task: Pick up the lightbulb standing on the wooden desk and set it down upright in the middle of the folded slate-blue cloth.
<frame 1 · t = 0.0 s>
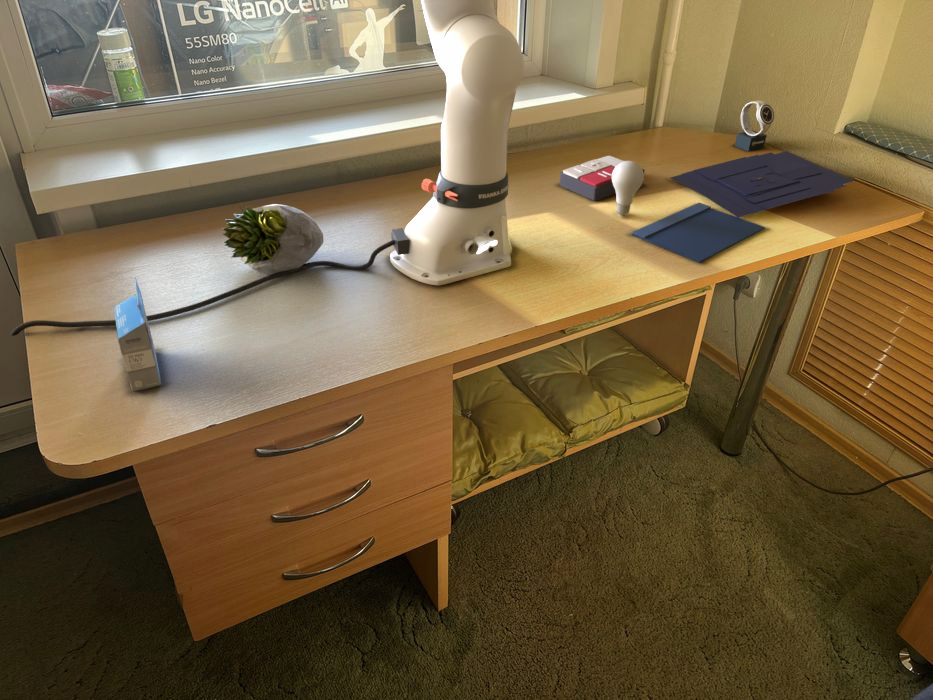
potted plant: (275, 270, 122), on the table
button panel: (600, 186, 155), on the table
watch: (749, 147, 177), on the table
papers: (759, 191, 153), on the table, touching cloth
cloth: (698, 232, 136), on the table
lightbulb: (622, 216, 142), on the table
label tape box: (145, 372, 97), on the table
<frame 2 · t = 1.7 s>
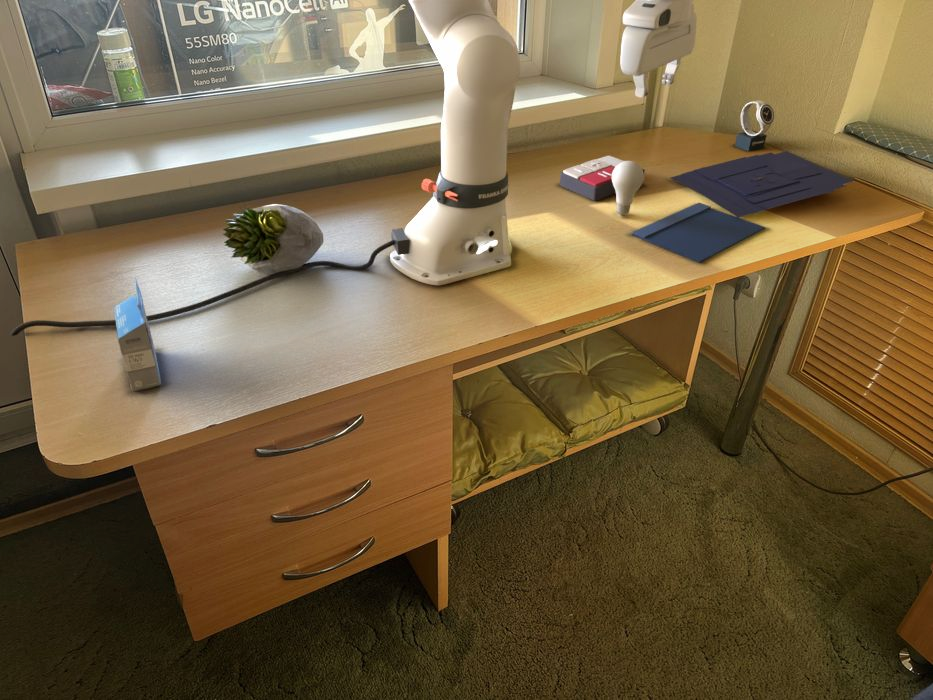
hand: (654, 90, 129), 24 cm above the table, tool pointing down, fingers open, 8 cm apart
nothing on the table moved.
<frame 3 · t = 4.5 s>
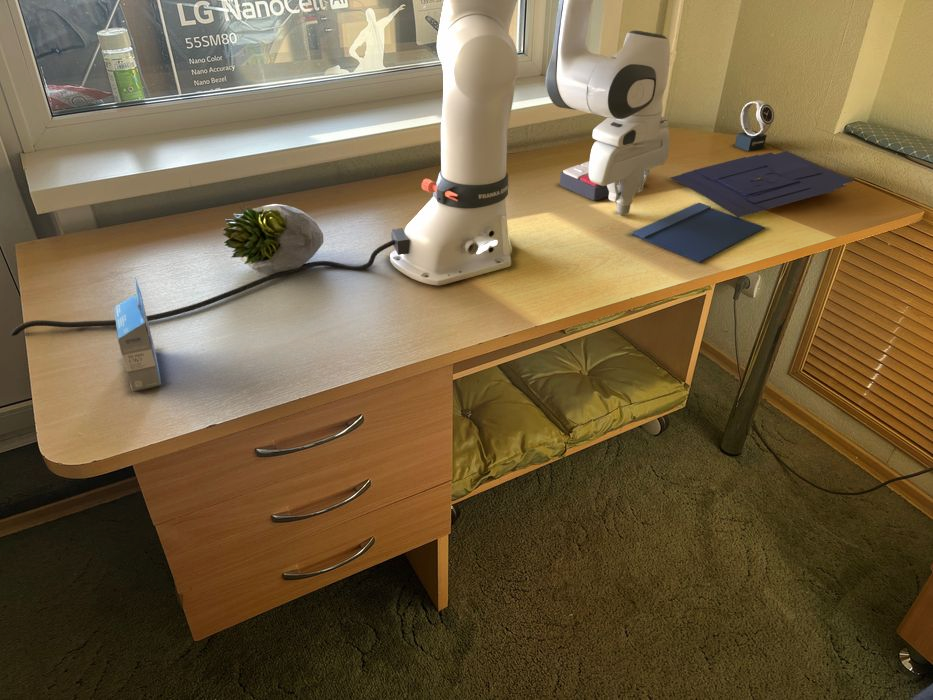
hand: (625, 195, 139), 4 cm above the table, tool pointing down, fingers closed on lightbulb, 6 cm apart
lightbulb: (622, 216, 142), on the table, touching gripper
everything else where it was.
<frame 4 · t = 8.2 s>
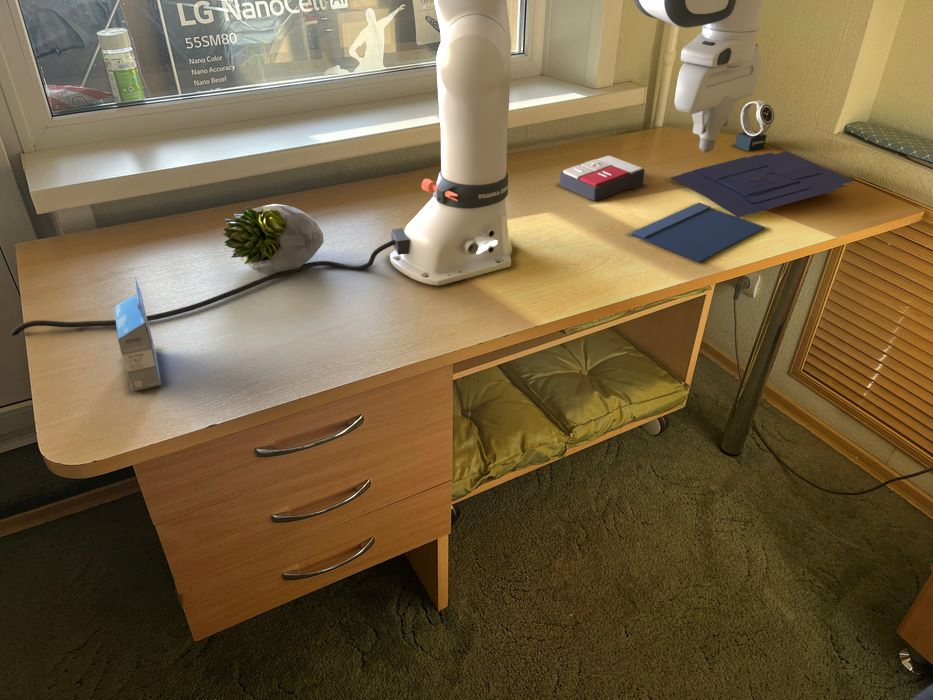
hand: (710, 129, 125), 19 cm above the table, tool pointing down, fingers closed on lightbulb, 6 cm apart
lightbulb: (705, 153, 128), point 15 cm above the table, touching gripper
everything else where it was.
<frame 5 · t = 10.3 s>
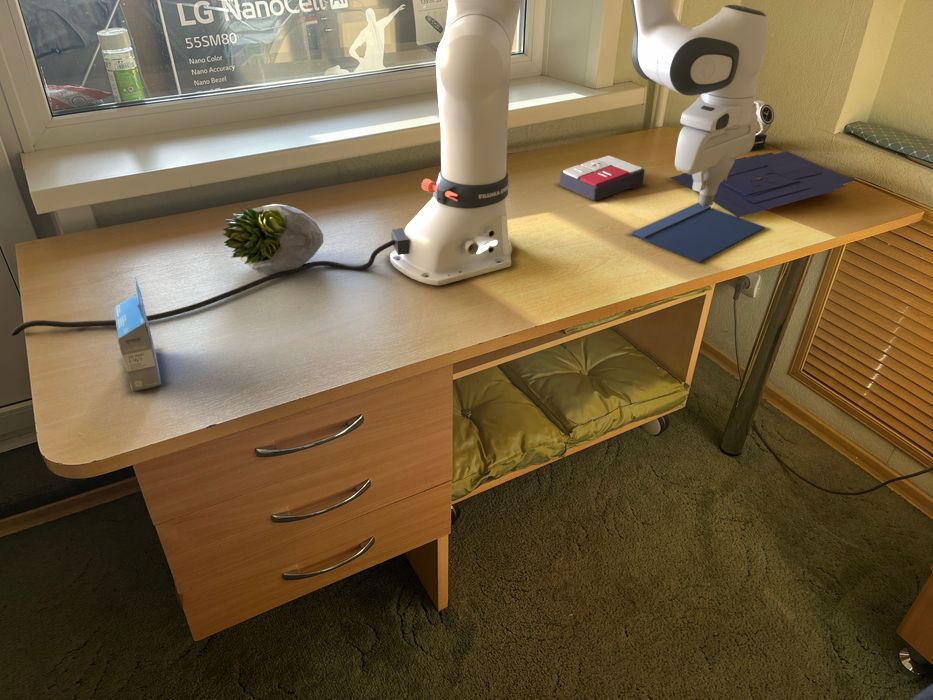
hand: (709, 185, 130), 9 cm above the table, tool pointing down, fingers closed on lightbulb, 6 cm apart
lightbulb: (704, 207, 133), point 5 cm above the table, touching gripper
everything else where it was.
when the fingers open (4 cm above the table, at t = 12.0 s): lightbulb stays where it is, resting on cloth.
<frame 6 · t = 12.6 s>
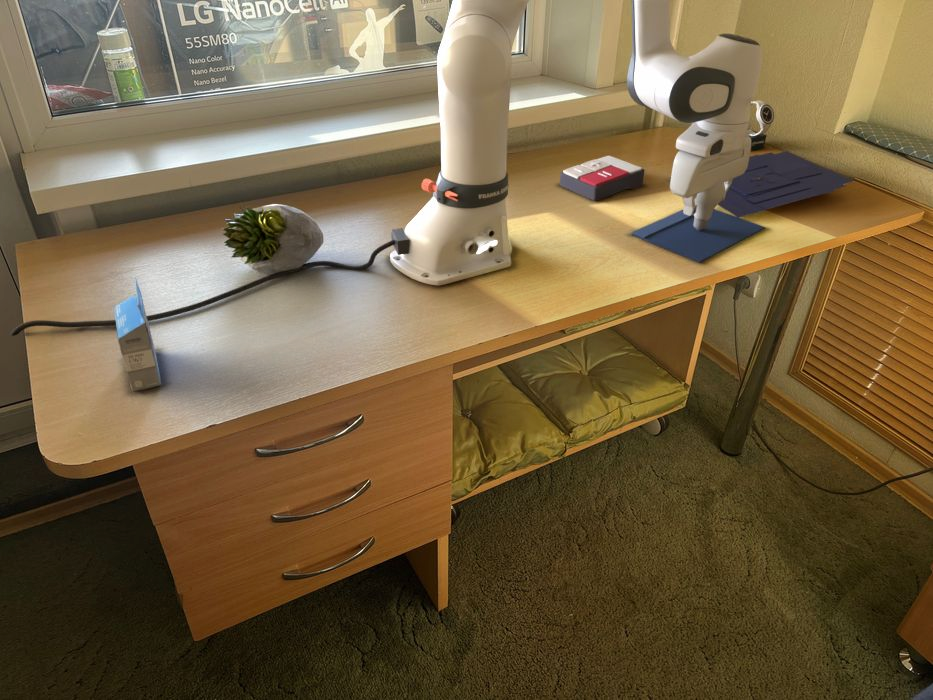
hand: (703, 207, 133), 5 cm above the table, tool pointing down, fingers open, 8 cm apart
lightbulb: (699, 231, 136), resting on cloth
everything else where it was.
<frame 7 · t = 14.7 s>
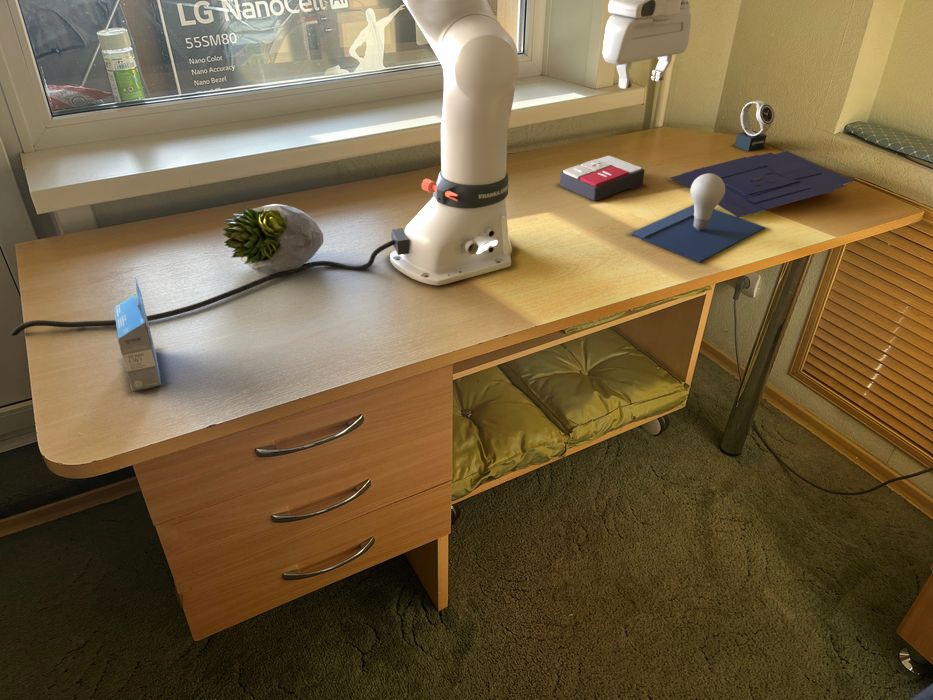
hand: (641, 84, 129), 25 cm above the table, tool pointing down, fingers open, 8 cm apart
nothing on the table moved.
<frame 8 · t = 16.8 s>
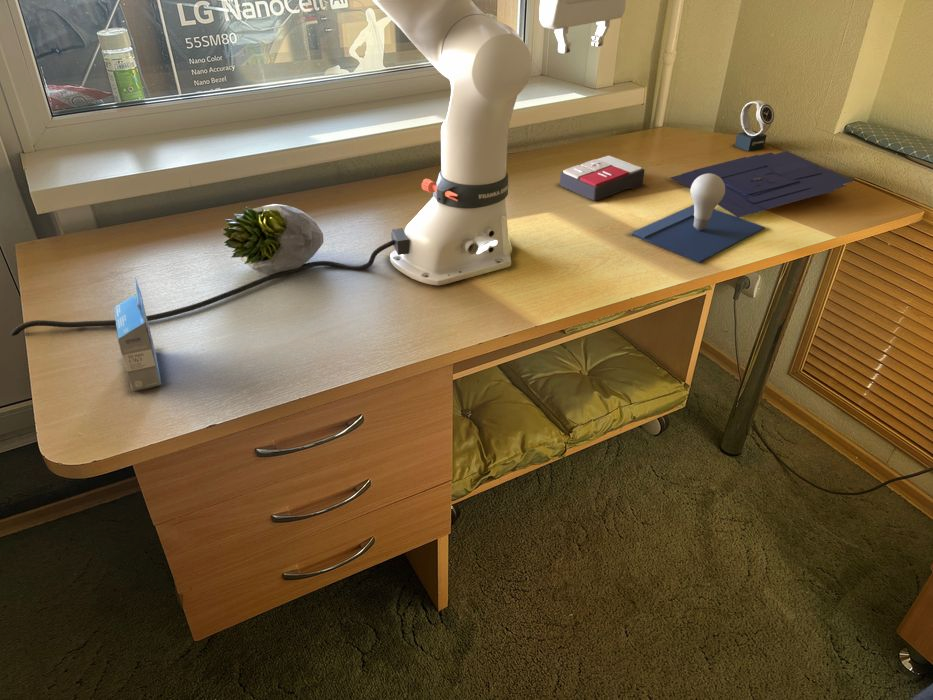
hand: (580, 49, 133), 29 cm above the table, tool pointing down, fingers open, 8 cm apart
nothing on the table moved.
at the end: lightbulb inside the target area on the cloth (0.0 cm from its centre), point 0.2 cm above the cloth's base; lightbulb tilted 0°; the gripper is holding nothing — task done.
